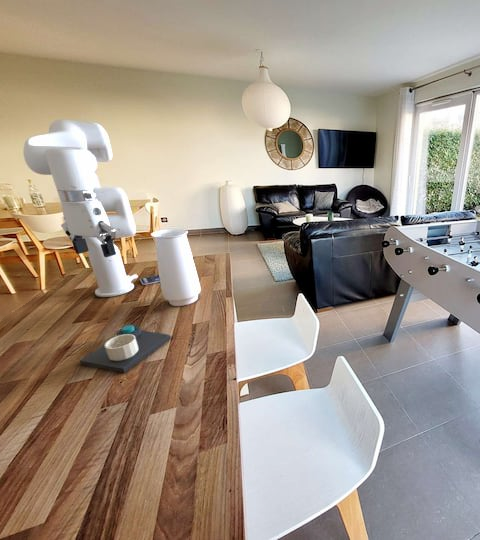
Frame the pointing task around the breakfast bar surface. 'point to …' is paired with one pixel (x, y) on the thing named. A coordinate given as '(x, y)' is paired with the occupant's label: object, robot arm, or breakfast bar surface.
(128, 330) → the tare button
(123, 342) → the bowl
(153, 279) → the smartphone
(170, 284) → the vase
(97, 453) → the breakfast bar surface
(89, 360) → the scale
